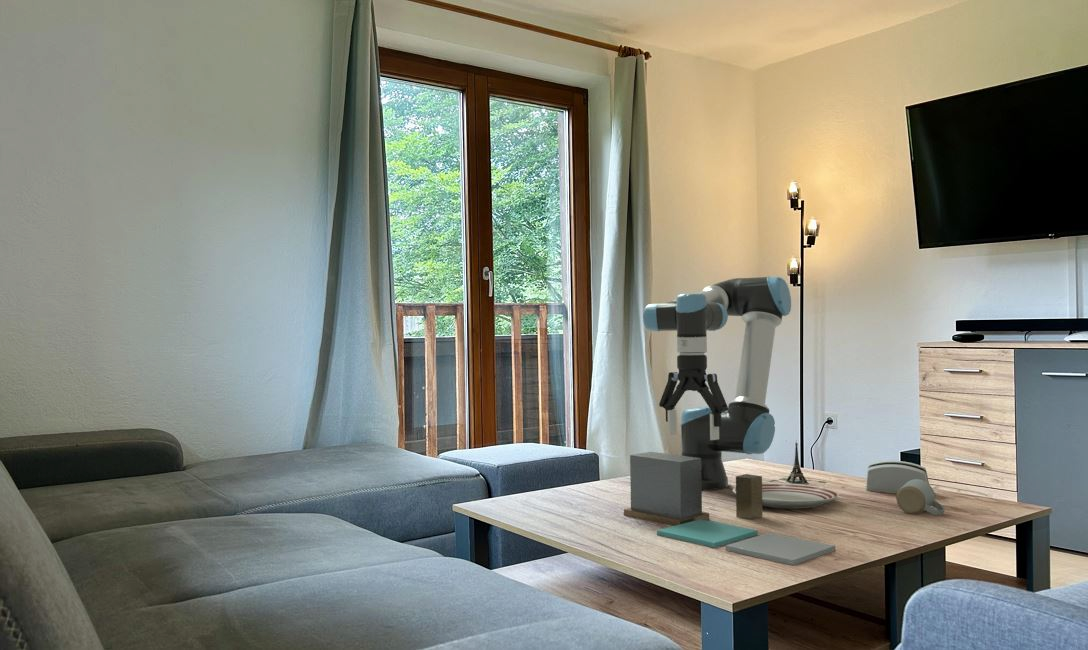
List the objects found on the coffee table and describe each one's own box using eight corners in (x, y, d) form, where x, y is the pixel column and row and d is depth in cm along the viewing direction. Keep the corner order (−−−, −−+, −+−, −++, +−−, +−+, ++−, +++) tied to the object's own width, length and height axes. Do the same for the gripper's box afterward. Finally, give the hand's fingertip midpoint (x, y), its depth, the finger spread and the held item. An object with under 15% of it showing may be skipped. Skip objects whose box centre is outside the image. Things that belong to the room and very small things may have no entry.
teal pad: (656, 534, 195) (656, 530, 195) (700, 523, 206) (700, 519, 206) (714, 547, 183) (714, 542, 183) (757, 534, 194) (757, 530, 194)
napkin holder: (931, 492, 240) (929, 460, 237) (930, 500, 236) (928, 468, 233) (867, 487, 248) (865, 456, 245) (865, 495, 244) (863, 464, 241)
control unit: (623, 515, 216) (623, 455, 216) (652, 508, 223) (652, 450, 223) (680, 527, 202) (679, 463, 202) (709, 519, 210) (708, 458, 210)
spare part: (736, 516, 212) (735, 476, 212) (747, 514, 215) (746, 474, 215) (751, 519, 209) (751, 478, 209) (762, 516, 212) (761, 476, 212)
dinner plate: (750, 489, 249) (750, 477, 249) (849, 498, 235) (849, 485, 235) (718, 507, 225) (718, 494, 225) (825, 518, 211) (825, 504, 211)
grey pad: (725, 550, 181) (725, 545, 181) (769, 537, 192) (769, 532, 192) (793, 565, 169) (792, 560, 169) (835, 550, 180) (835, 545, 180)
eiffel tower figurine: (829, 484, 257) (828, 439, 257) (815, 489, 249) (814, 443, 249) (782, 478, 267) (781, 435, 267) (767, 483, 259) (766, 439, 259)
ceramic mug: (894, 513, 214) (894, 482, 214) (903, 507, 221) (903, 477, 221) (940, 519, 208) (940, 487, 208) (948, 513, 214) (948, 482, 214)
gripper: (645, 353, 227) (646, 434, 227) (723, 355, 208) (724, 443, 208) (663, 353, 232) (664, 431, 232) (741, 354, 213) (742, 440, 213)
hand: (693, 437), depth 220 cm, fingers open, 13 cm apart
